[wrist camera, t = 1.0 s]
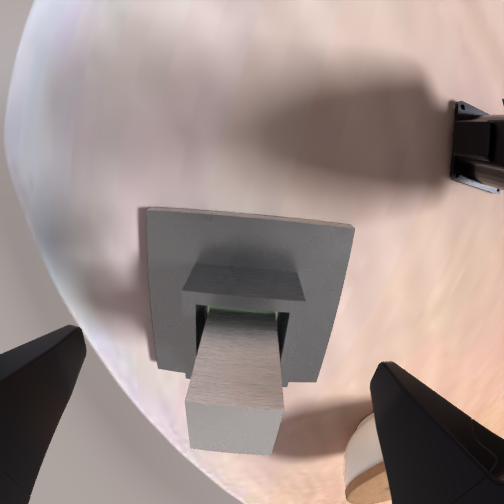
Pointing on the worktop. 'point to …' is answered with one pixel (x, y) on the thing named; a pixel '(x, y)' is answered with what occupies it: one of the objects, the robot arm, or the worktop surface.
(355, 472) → the lidded bowl
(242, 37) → the worktop surface
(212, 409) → the grey tall block
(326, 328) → the stand base
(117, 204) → the worktop surface
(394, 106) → the worktop surface
